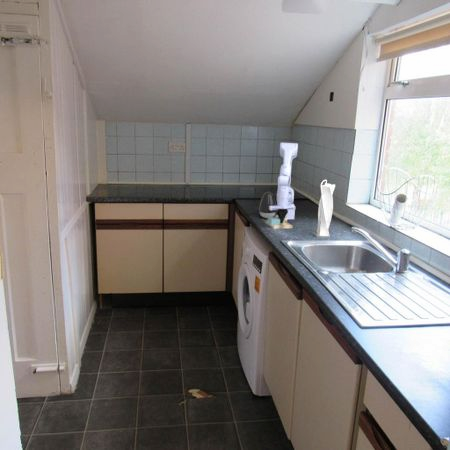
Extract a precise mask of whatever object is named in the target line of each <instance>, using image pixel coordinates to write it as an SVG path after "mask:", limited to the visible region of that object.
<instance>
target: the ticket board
mask: <svg viewBox="0 0 450 450" xmlns="http://www.w3.org/2000/svg"><path fill="white" fill-rule="evenodd" d="M274 217H277V218H279V217H278V214H275V215H274ZM264 224H266V225H267V226H268V227H270V228H272V229H273V230H274V229H275V230H276V229H279V230H280V229H293V224H291V223H289V222H288V219H287V216H285V218H284V221H283V223H280V225H270V224H269V223H268V219H267V220H264Z"/></svg>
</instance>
